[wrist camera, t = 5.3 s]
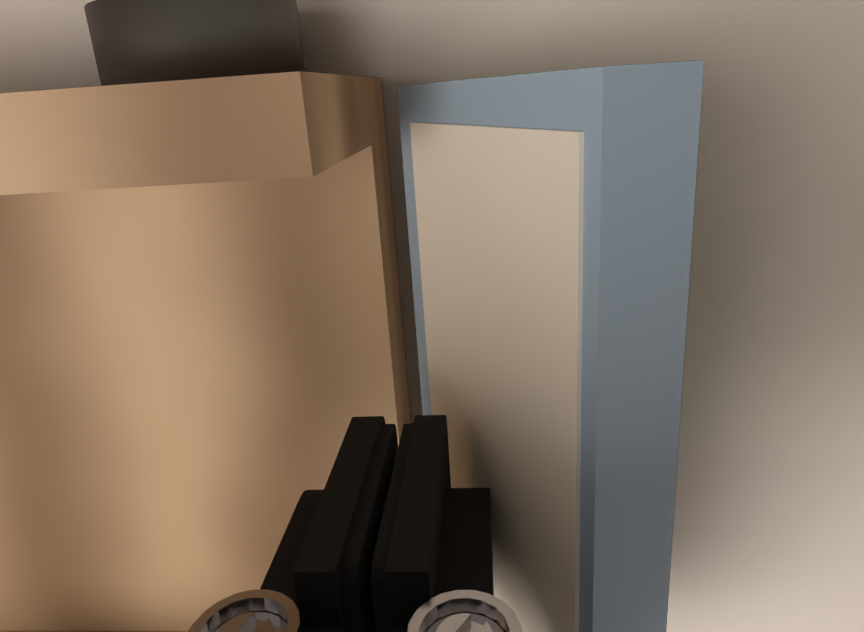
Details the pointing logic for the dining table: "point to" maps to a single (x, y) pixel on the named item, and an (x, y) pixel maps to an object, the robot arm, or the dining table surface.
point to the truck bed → (184, 311)
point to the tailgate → (559, 321)
